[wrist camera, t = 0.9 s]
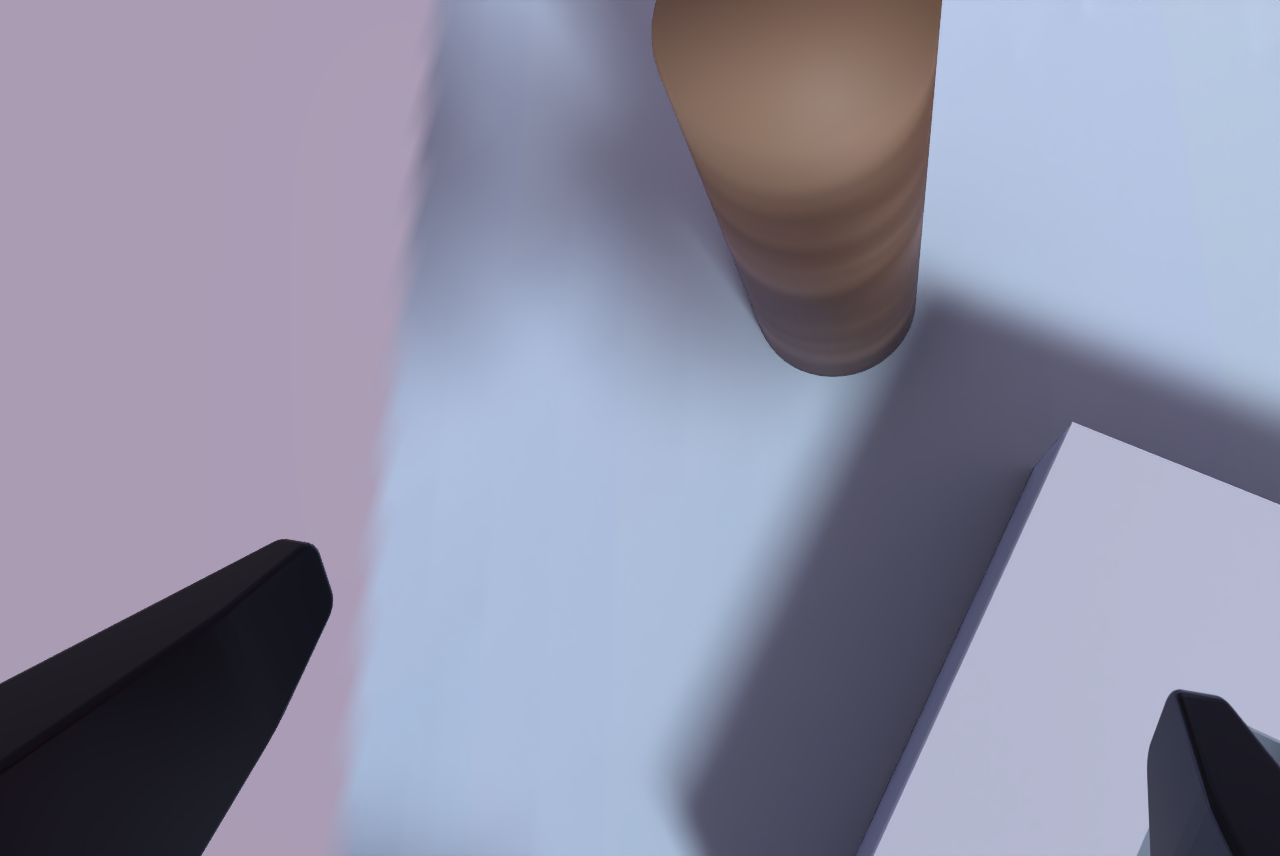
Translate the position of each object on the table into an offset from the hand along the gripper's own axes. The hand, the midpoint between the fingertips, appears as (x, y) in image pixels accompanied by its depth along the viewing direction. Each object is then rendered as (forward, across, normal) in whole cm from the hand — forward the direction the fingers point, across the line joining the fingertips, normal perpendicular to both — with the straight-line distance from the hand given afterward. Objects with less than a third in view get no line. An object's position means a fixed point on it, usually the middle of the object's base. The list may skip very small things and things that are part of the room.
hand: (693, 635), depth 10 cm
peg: (+16, 0, +4) cm, 16 cm away
